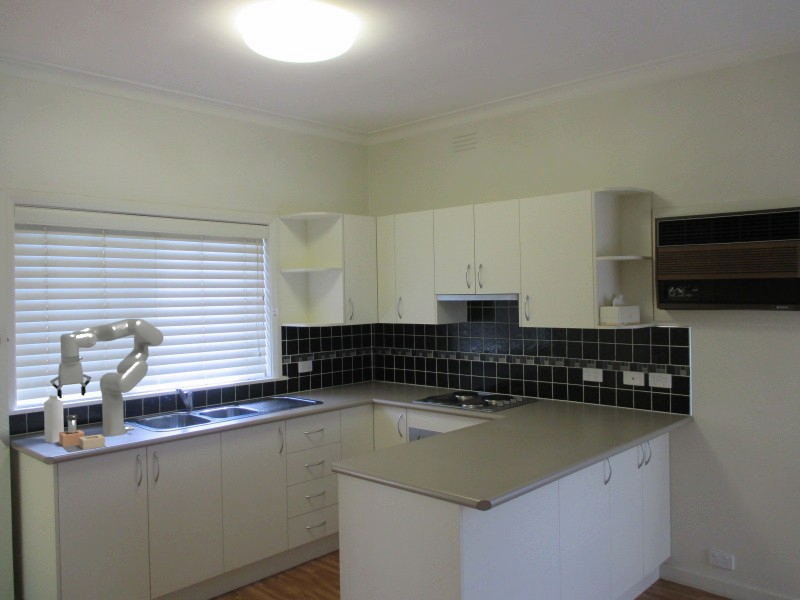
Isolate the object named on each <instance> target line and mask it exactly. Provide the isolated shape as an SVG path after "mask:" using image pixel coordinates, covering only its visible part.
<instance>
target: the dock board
mask: <svg viewBox="0 0 800 600" xmlns="http://www.w3.org/2000/svg"><path fill="white" fill-rule="evenodd" d="M100 434H101V433H99V434H93V435H87V436H86V435H85V432H84V431H83V430H81V429H78V430H77V429H76V433H75V434H68V431H64V432H60V433H59V442H57V444H58V445H59V446H60V447H62V449H63V450H64V451H65V452H67V453H74V452H75V453H76V452H81V451H82V452H83V451H88V450H95V449H102V448H107V445H106V444H105V443H106V440H105V439H106V437H103V436H102V435H100Z"/></svg>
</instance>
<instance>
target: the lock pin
mask: <svg viewBox="0 0 800 600" xmlns="http://www.w3.org/2000/svg"><path fill="white" fill-rule="evenodd" d="M66 419H67V428H68V430H67V432H68V434H75V433H76V430H77V419H78V414H68V415H66Z"/></svg>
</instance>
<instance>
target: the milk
mask: <svg viewBox="0 0 800 600" xmlns="http://www.w3.org/2000/svg"><path fill="white" fill-rule="evenodd" d="M43 415H44V416H43V418H44V420H43V421H44V423H43V424H44V442H45V443H50V444H53V443H59V433H60V432H65V430H64V429H65V428H64V401H62V400H60V399H58V396H57V395H49V396H48V399H47V400H46V401H44V402H43Z"/></svg>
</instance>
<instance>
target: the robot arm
mask: <svg viewBox="0 0 800 600" xmlns="http://www.w3.org/2000/svg"><path fill="white" fill-rule="evenodd" d="M129 336H133V349H132V350H131V352H130V353H128V355H127V356H125V357H124V358H123V359H122V360H121V361H120V362H119V364H117V367H116V372H112V371H111V372H106V373H105V374H103V375H102V376H101V378H100V380H99V389H100V393H101V400H102V402H101V403H102V406H101V407H102V408H101V410H102V433H99V434H100V435H102V436H103V437H105V438H111V437H112V438H113V437H120V436H124V435H127V434H128V431H134V430H135V426H134V425H133V426H125V424H124V423H125V421H124V420H125V419H124V418H125V417H124V399H123V398H124V396H123V394H125V393H129V392H130V391H132V390H133V389H134V388H135V387H136V386H137V385H138V384H139V383H140V382H141V381H142V380H143V379H144V378H145V377H146V375H147V373H148V370H149V366H148V363H147V362H146V361H147V360H148V358H149V354H150V353H149V347H157V346H160V345H161V344H162V343H163V342H164V334H163V332H162V330H160V329H158V328H157V327H155V326H154V325H152V324H151V323H149V322H148V321H146V320H144V319H143V318H125V319H122V320H118V321H115V322H111V323H107V324H101V325H97V326H91V327H88V328H83V329H79V330H75V331H73V332H72V333H71V332H70V333H62V334H61V335H60V360H61V361H60V363H58V371H57V372H58V373H57V374H58V375H57V376H56V377H55V378H52V379H51V380H50V381H49V382H50V384H51V385H52V387H54V388H55V389H56V391H57V392H56V394H57V395H56V396H57V398H59V399H62V398H63V396H62V395H63V393H62V388H63V386H69V385H78V384H79V385H81V387H80V389H81V391H80V393H81V396H82V397H84V396H85V394H86V393H87V392H86V387H87V386H88V384H90V382H91V379H92V376H91V375H90V376H89V375H87V374H84V372H83V371H84V370H83V365H82V363H81V362H82V360H83V356H80V349H81V348H85V349H87V348H88V349H89V348H92V347H94V346H95V345H96V344H97V343H99V342H100V343H101V342H102V343H103V342H104V343H105V342H112V341H115V340H120V339H122V338H126V337H129ZM84 379H86V380H85V382H84ZM55 382H58V385H57V384H56V383H55Z"/></svg>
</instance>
